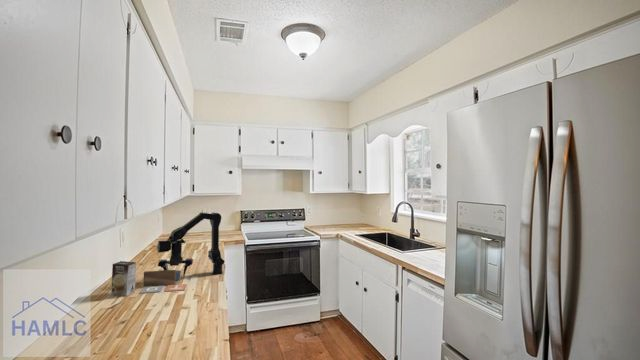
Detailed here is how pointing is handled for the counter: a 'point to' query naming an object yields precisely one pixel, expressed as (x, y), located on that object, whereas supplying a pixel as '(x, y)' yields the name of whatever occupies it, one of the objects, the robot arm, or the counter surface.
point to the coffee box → (123, 278)
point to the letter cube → (178, 275)
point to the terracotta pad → (176, 287)
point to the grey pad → (151, 289)
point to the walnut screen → (159, 278)
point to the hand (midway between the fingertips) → (175, 276)
